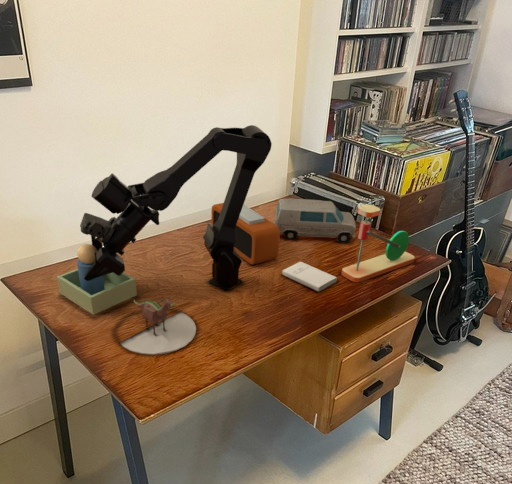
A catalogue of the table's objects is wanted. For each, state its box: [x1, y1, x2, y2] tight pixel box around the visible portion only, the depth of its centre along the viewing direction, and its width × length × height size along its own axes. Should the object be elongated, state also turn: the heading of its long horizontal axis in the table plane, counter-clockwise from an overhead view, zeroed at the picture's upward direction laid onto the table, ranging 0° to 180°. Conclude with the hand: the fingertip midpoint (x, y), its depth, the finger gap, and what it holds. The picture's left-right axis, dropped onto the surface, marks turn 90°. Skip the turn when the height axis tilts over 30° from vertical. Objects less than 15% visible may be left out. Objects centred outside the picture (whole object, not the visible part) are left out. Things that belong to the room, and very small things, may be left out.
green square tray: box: [56, 268, 138, 315], centre depth 127 cm, size 14×13×6 cm
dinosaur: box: [118, 298, 197, 356], centre depth 115 cm, size 18×18×11 cm
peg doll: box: [76, 243, 105, 295], centre depth 124 cm, size 5×5×13 cm
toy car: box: [273, 198, 357, 244], centre depth 162 cm, size 11×25×10 cm, turn 89°
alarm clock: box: [210, 202, 281, 265], centre depth 152 cm, size 24×8×11 cm, turn 34°
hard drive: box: [281, 261, 338, 293], centre depth 142 cm, size 2×8×12 cm
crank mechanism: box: [340, 204, 416, 283], centre depth 144 cm, size 25×7×19 cm, turn 126°
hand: (84, 272), depth 124 cm, fingers open, 6 cm apart
